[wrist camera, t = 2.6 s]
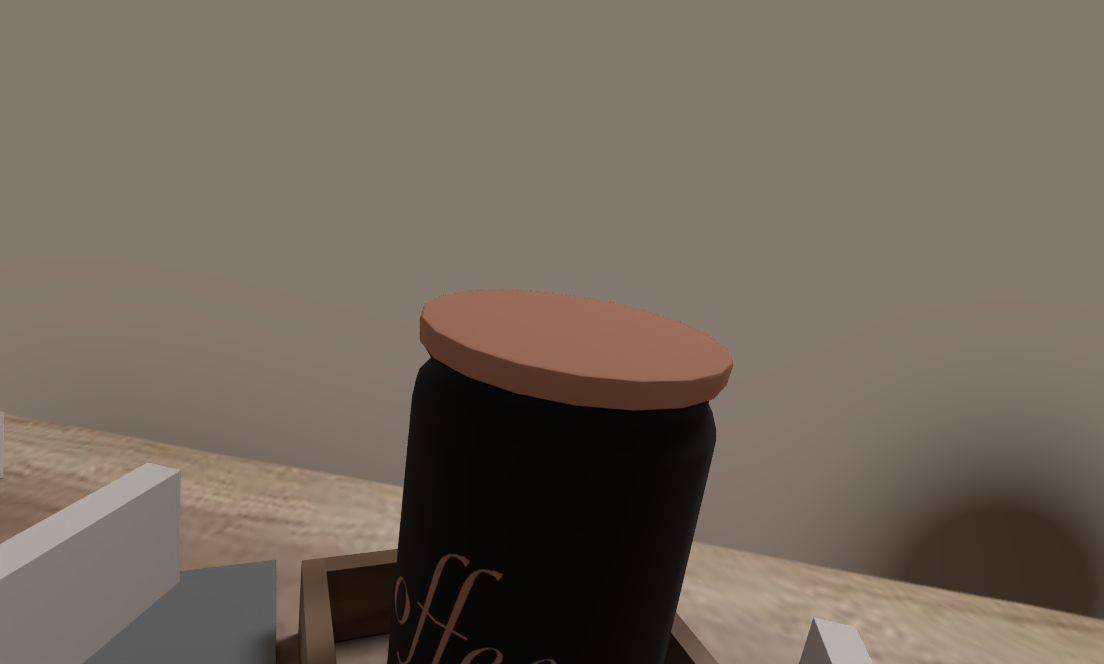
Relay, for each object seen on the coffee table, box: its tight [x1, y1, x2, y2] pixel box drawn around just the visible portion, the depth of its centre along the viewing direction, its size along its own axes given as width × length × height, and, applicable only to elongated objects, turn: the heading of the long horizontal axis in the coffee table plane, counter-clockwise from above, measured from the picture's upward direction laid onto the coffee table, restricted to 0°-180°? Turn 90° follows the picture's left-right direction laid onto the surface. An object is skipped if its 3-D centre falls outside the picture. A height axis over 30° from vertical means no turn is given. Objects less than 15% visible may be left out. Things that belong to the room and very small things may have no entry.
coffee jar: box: [387, 290, 733, 664], centre depth 23 cm, size 11×11×18 cm
